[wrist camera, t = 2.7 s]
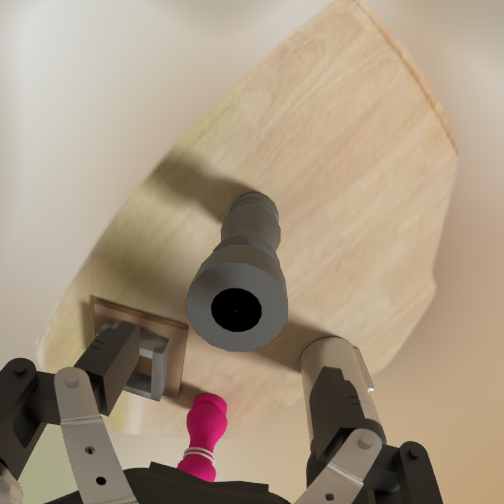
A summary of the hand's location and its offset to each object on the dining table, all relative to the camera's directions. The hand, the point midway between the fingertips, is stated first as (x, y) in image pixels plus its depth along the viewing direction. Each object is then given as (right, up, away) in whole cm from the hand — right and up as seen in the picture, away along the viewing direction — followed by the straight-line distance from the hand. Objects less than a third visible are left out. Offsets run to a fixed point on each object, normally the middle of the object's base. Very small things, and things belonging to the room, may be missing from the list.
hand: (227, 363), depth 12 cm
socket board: (-18, -12, +36) cm, 42 cm away
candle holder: (+1, +9, +28) cm, 30 cm away
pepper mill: (-7, -24, +40) cm, 47 cm away
